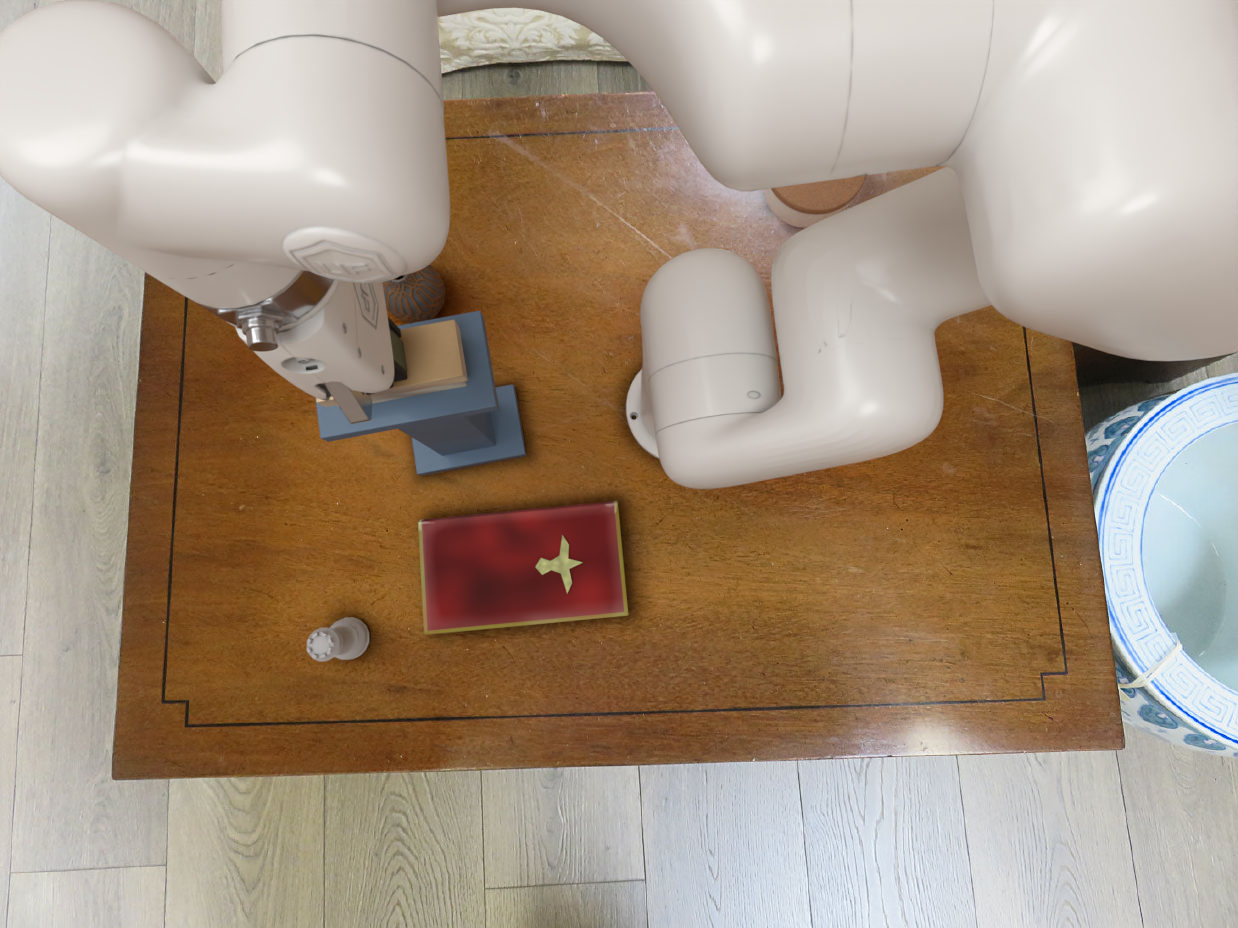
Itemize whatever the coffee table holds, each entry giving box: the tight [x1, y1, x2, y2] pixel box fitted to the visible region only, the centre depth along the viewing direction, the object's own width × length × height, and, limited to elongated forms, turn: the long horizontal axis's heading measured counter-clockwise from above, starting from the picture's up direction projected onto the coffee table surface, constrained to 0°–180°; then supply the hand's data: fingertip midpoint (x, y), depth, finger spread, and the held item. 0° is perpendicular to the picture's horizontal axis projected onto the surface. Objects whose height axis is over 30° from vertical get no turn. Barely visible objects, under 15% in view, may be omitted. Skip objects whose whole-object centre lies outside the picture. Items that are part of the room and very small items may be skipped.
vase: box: [382, 264, 446, 324], centre depth 79 cm, size 7×7×9 cm
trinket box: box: [762, 175, 867, 229], centre depth 80 cm, size 11×11×9 cm
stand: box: [314, 310, 528, 477], centre depth 69 cm, size 14×8×24 cm, turn 101°
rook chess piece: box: [306, 616, 370, 663], centre depth 74 cm, size 4×4×8 cm
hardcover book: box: [417, 500, 629, 636], centre depth 77 cm, size 12×21×4 cm, turn 95°
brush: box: [315, 320, 468, 408], centre depth 53 cm, size 11×4×10 cm, turn 101°
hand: (383, 358), depth 53 cm, fingers closed on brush, 2 cm apart
